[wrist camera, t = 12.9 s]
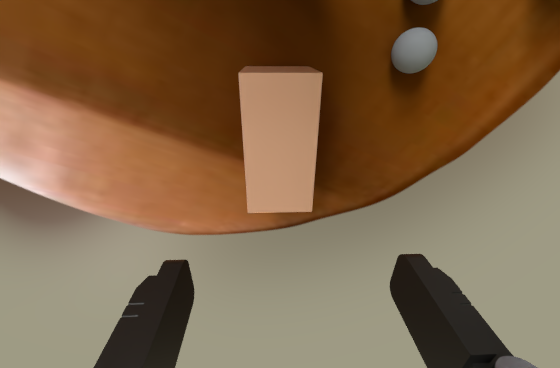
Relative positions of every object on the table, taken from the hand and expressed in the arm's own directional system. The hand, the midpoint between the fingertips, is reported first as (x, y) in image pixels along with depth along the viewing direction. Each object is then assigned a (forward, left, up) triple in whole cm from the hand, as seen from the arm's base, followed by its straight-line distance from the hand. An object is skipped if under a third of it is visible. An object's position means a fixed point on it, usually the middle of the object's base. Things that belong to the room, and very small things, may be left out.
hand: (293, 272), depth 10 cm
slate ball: (-7, +12, -20) cm, 24 cm away
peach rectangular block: (0, 0, -20) cm, 20 cm away
